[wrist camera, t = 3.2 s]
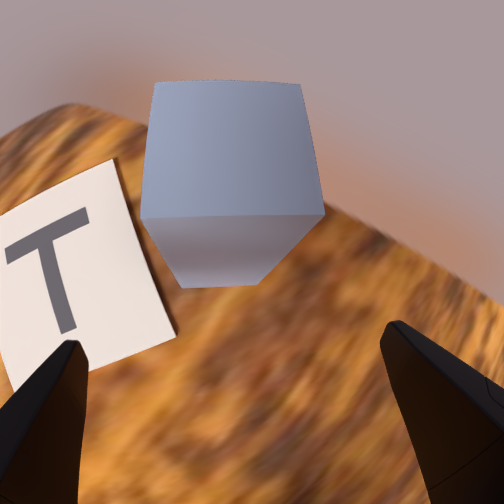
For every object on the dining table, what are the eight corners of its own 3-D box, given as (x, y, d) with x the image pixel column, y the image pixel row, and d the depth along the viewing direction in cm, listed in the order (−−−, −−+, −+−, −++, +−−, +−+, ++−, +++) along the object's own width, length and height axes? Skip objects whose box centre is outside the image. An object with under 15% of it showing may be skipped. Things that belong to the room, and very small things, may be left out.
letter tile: (176, 336, 19) (176, 336, 19) (19, 395, 16) (16, 396, 16) (113, 162, 22) (112, 158, 21) (-20, 232, 19) (-23, 230, 18)
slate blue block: (256, 285, 21) (325, 214, 8) (181, 288, 20) (139, 218, 8) (251, 215, 22) (300, 84, 10) (180, 217, 21) (155, 82, 9)
